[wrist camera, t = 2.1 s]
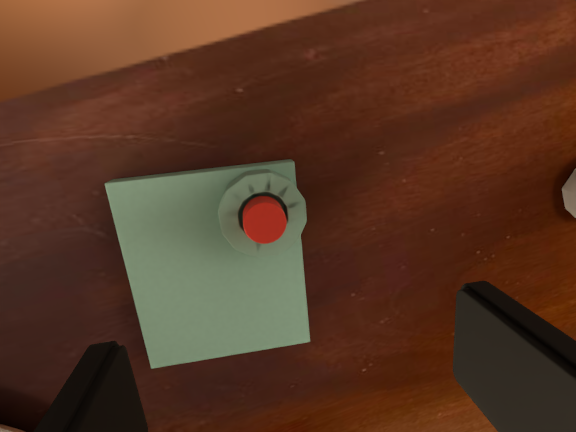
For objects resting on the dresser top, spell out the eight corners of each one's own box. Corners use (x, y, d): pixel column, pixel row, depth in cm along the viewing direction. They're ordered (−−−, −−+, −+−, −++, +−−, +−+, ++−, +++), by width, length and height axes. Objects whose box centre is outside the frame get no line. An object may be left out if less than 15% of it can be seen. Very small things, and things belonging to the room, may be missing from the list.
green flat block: (111, 179, 23) (94, 188, 20) (294, 158, 24) (302, 164, 21) (155, 356, 27) (145, 385, 24) (309, 330, 28) (317, 355, 26)
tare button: (239, 198, 22) (240, 205, 20) (281, 193, 22) (284, 199, 20) (245, 237, 23) (246, 247, 21) (285, 231, 23) (288, 241, 21)
